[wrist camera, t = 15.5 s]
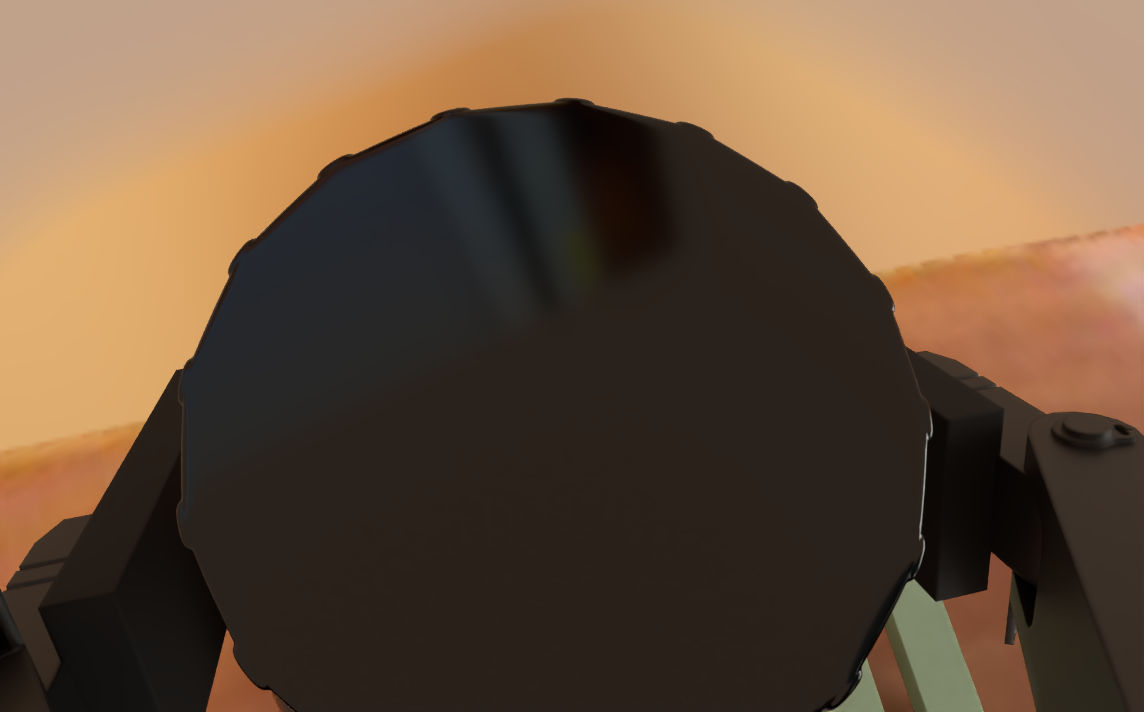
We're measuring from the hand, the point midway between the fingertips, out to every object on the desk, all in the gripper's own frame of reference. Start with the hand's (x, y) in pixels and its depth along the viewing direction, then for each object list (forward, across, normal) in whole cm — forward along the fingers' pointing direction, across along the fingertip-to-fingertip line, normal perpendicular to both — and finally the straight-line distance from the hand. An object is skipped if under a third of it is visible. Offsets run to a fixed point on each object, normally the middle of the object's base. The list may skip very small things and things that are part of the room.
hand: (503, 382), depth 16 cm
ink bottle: (+1, 0, +6) cm, 6 cm away
